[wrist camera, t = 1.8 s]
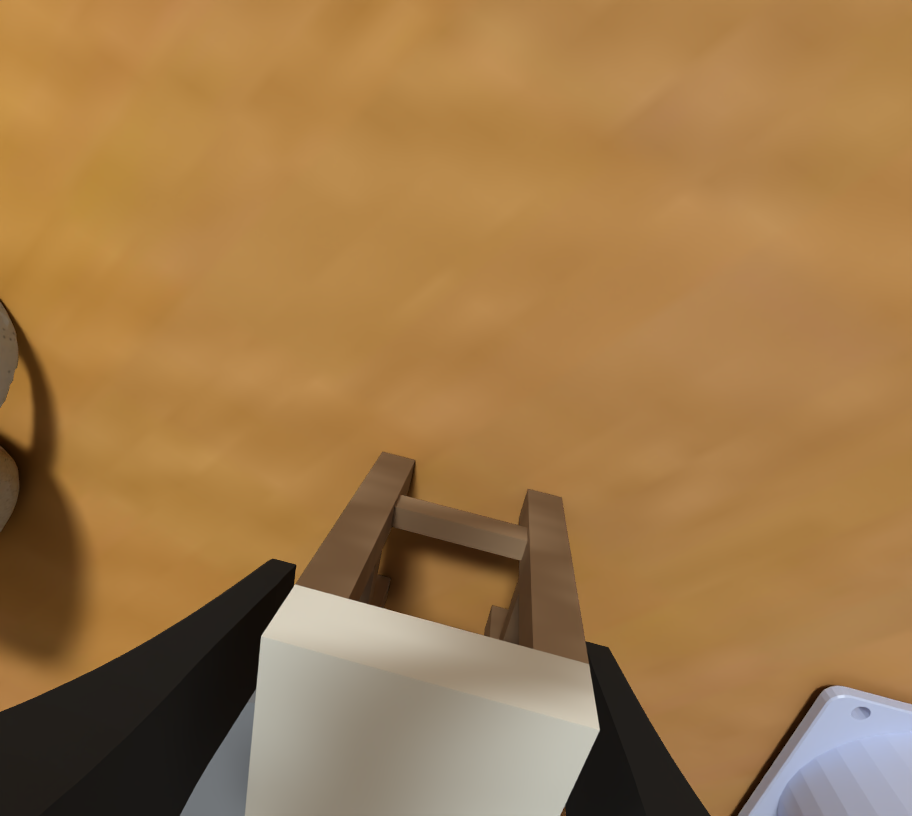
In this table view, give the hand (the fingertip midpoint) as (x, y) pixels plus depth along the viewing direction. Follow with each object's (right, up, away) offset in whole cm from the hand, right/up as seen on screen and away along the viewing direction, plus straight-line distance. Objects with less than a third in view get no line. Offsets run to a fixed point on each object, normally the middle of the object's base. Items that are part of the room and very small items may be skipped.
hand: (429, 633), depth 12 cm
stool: (+1, +1, +3) cm, 4 cm away
